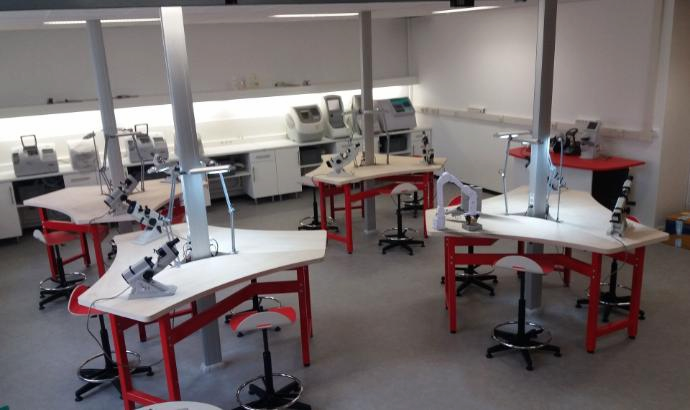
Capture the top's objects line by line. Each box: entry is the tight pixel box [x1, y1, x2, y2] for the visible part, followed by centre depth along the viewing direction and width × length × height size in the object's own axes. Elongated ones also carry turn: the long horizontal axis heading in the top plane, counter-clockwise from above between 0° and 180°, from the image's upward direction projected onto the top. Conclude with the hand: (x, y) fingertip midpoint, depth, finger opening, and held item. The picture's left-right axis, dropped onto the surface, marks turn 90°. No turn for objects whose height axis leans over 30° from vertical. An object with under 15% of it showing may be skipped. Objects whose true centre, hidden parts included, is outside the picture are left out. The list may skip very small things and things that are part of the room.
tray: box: [461, 222, 483, 232], centre depth 442 cm, size 12×10×4 cm
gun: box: [435, 204, 467, 223], centre depth 467 cm, size 5×27×15 cm, turn 62°
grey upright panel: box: [460, 184, 483, 213], centre depth 482 cm, size 17×5×25 cm, turn 91°
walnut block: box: [466, 217, 478, 226], centre depth 442 cm, size 5×5×6 cm
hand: (472, 224), depth 442 cm, fingers closed on walnut block, 5 cm apart
